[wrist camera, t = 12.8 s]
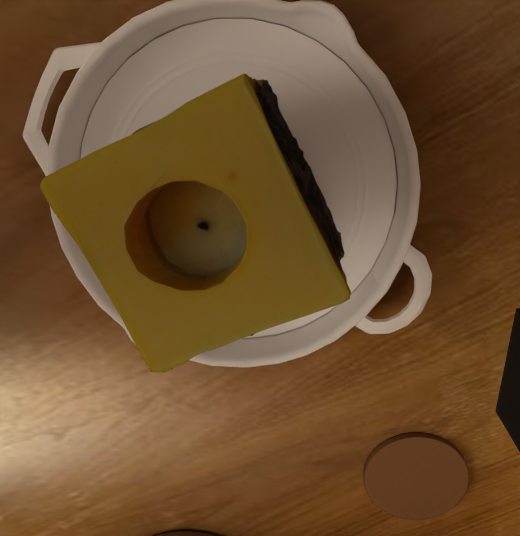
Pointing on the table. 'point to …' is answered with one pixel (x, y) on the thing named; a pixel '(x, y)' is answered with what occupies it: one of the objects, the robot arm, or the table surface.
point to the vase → (185, 533)
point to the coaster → (416, 476)
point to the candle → (204, 225)
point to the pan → (297, 118)
